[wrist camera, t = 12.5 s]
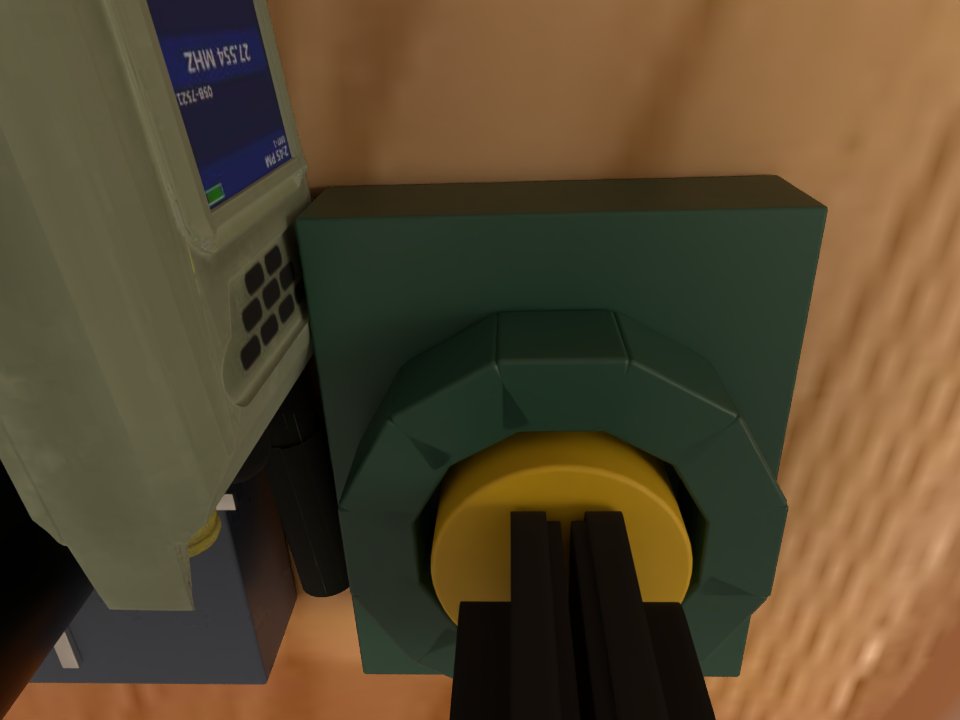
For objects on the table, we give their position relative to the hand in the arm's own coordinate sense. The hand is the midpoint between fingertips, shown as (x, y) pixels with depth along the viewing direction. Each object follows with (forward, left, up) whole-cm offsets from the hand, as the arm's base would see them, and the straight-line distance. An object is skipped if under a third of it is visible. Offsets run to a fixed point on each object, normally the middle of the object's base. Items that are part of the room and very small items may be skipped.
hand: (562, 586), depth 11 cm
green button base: (0, 0, -5) cm, 5 cm away
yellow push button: (0, 0, -2) cm, 2 cm away
